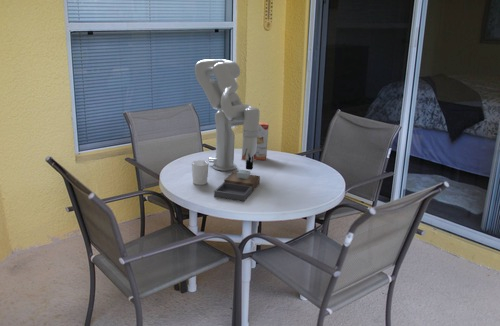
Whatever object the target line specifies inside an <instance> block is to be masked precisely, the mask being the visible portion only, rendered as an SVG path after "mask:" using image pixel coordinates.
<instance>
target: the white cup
mask: <svg viewBox="0 0 500 326" xmlns="http://www.w3.org/2000/svg"><path fill="white" fill-rule="evenodd" d="M209 163H210V162H209V161H206V160H194V161H192V162H191V172H192V183H193V184H194V185H197V186H203V185H206V184H207V183H208V176H209Z"/></svg>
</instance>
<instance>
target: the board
mask: <svg viewBox="0 0 500 326" xmlns="http://www.w3.org/2000/svg"><path fill="white" fill-rule="evenodd" d="M260 179H261V176H260V175H256V174H255V175H254V174H250V176H249V177H248V178H247V179H244V178H237V172H233V171H232V172H231V173H230V174H229V175H228V176H227V177H226V178H224V181H223V182H225V183H232V184H239V185H246V186H252V193H253V192H254V191H255V190H256V189H257V188H258V186H259V185H260V181H261V180H260Z"/></svg>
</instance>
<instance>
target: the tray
mask: <svg viewBox="0 0 500 326" xmlns="http://www.w3.org/2000/svg"><path fill="white" fill-rule="evenodd" d="M252 193H253V192H252V186H246V185H239V184H232V183H225V182H224V181H223V182H222V183H221V184H220V185H219V186H218V187H217V188H216V189H215V190H214V192H213V195H214V196H213V197H214V198H217V199H223V200H229V201H236V202H242V203H245V201H246V200H247V199H248V198H249V197H250V196H251V194H252Z"/></svg>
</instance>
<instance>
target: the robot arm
mask: <svg viewBox="0 0 500 326" xmlns="http://www.w3.org/2000/svg"><path fill="white" fill-rule="evenodd" d="M194 74H195V78H196V80H197V82H198V83H199V85H200V86H201V88H202V90H203V92H204V94H205V96H206V98H207V100H208V102H209V104H210V106H211V108H213V110H217V111H216V112H215V114H214V122H215V128H216V130H215V131H216V132H215V133H216V135H215V141H216V142H215V157H214V158H213V157H208V163H212V169H213V170H217V171H221V172H222V171H223V172H228V171H229V172H230V171H234V170H236V169H237V165H236V164H235V163H234V162H235V161H234V160H235V136H236V135H235V132H234V131H233V129H232V127H237V126H242V125H243V129H242V137H243V136H244V140H243V139H242V143H243V149H242V148H241V157H242V156H243V157H244V156H245V155H246V159H245V170H247V171H253V169H254V160H253V157H254V155H255V154H256V150H257V137H258V135H259V122H260V113H261V112H260V108H257V107H254V106H251V105H250V104H247V103H245V104H243V102H242V100H241V98H240V95H239V94H237V93H236V91H238V88H239V85H238V82H237V81H236V79H237V78H238V77H239V76H240V75H241V68H240V65H239V64H238V63H237V62H235V61H233V60H228V59H223V58H218V59H217V58H215V59H214V58H211V59H202V60H199V61H197V62H196V64H195V66H194ZM212 76H214V77H215V79H214V78H213V77H212Z"/></svg>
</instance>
